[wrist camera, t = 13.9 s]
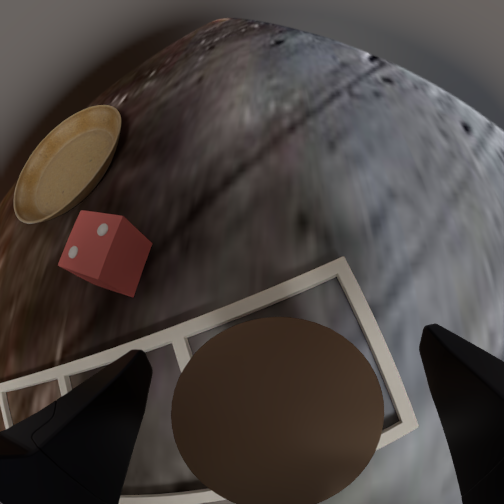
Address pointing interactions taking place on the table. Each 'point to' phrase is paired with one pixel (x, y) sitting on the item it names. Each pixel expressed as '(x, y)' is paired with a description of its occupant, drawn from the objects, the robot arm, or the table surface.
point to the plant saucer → (67, 164)
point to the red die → (106, 252)
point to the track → (179, 333)
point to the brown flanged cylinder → (277, 412)
